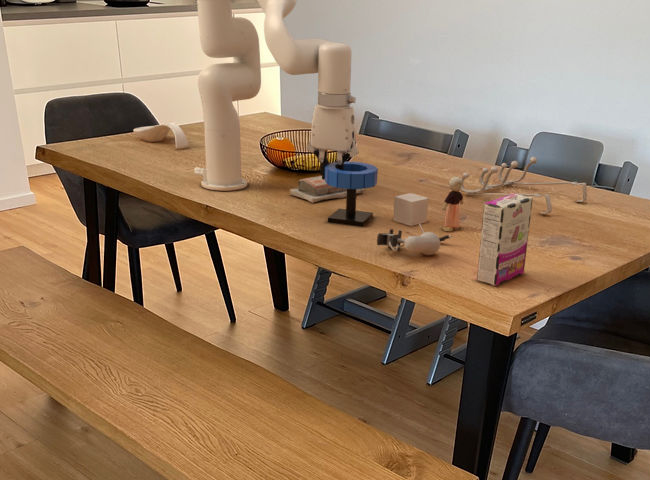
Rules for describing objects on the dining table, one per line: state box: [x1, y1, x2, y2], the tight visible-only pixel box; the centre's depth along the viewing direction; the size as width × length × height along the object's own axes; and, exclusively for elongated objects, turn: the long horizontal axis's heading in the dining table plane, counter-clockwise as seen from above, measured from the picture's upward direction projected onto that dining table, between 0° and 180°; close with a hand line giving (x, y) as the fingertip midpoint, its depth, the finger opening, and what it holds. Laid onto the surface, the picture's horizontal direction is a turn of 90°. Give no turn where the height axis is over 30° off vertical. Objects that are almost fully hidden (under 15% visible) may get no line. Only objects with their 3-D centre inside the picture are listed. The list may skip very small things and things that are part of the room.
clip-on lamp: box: [376, 223, 453, 256], centre depth 183 cm, size 12×6×18 cm
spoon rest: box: [132, 121, 189, 150], centre depth 272 cm, size 24×12×7 cm, turn 47°
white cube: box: [392, 192, 430, 227], centre depth 203 cm, size 6×6×6 cm
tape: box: [325, 161, 379, 190], centre depth 199 cm, size 12×12×4 cm
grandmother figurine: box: [441, 175, 465, 232], centre depth 197 cm, size 8×4×13 cm, turn 148°
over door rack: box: [460, 156, 588, 215], centre depth 226 cm, size 22×29×10 cm
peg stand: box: [327, 189, 374, 228], centre depth 201 cm, size 9×9×11 cm
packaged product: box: [289, 175, 364, 203], centre depth 223 cm, size 18×5×10 cm
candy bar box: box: [476, 192, 534, 287], centre depth 167 cm, size 11×5×16 cm, turn 138°
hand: (331, 178), depth 200 cm, fingers closed on tape, 2 cm apart
